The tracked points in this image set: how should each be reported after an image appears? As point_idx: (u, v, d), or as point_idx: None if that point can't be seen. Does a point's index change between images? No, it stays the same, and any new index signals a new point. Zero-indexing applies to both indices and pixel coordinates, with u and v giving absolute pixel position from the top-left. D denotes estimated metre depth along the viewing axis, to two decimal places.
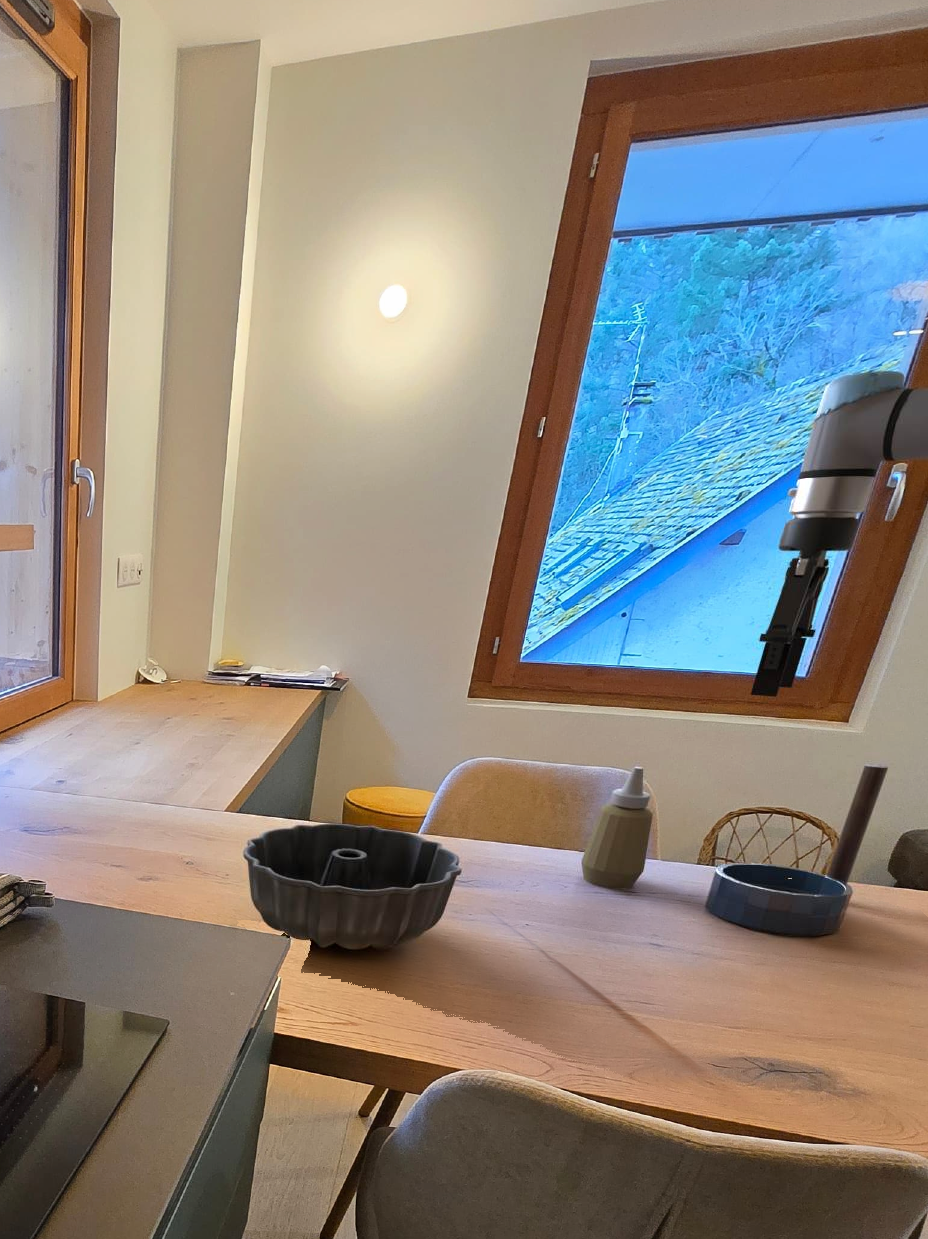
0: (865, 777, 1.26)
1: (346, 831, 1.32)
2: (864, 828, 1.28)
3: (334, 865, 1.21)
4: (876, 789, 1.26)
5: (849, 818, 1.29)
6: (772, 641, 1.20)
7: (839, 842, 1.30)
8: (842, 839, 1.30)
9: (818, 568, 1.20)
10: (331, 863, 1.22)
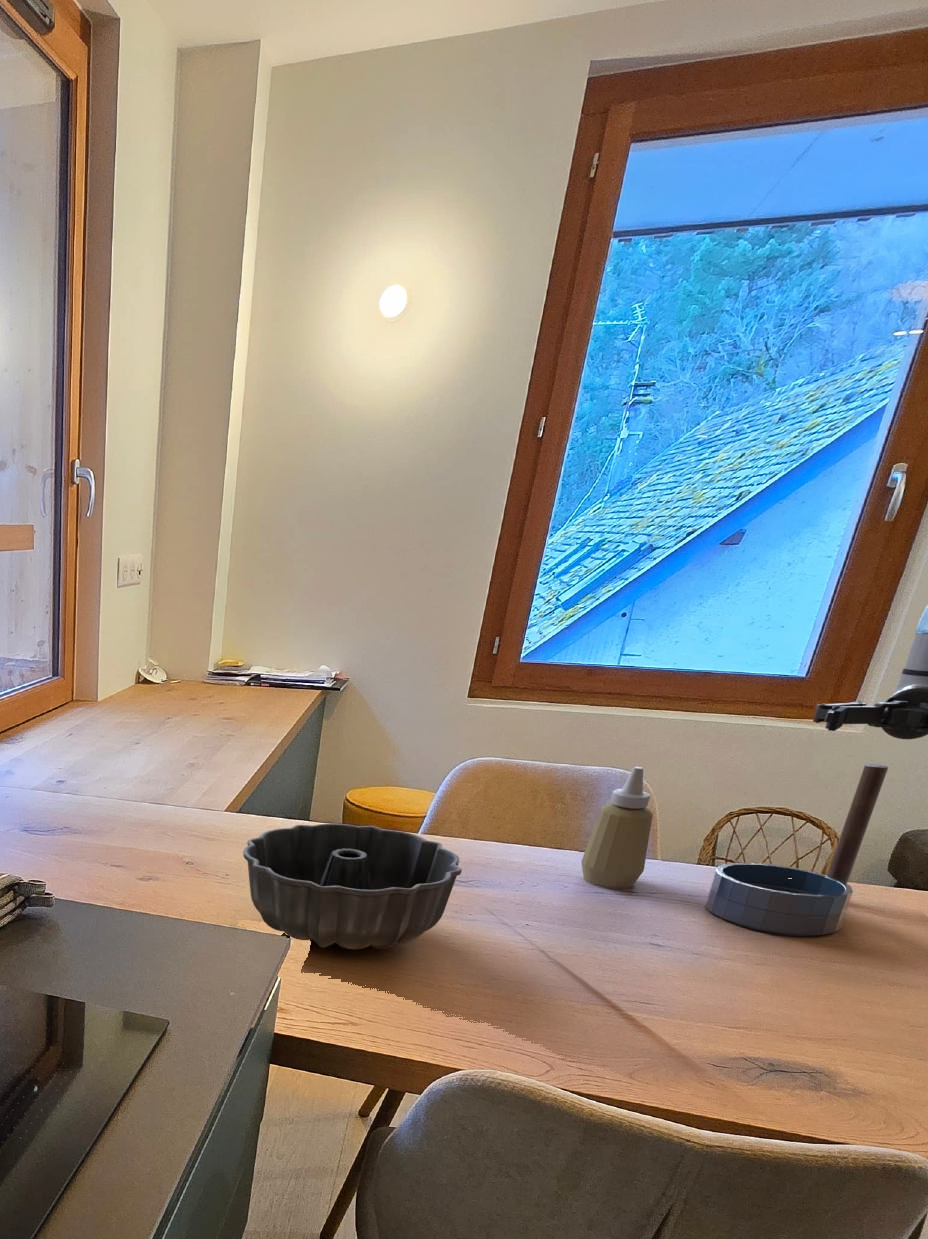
0: (865, 777, 1.26)
1: (346, 831, 1.32)
2: (864, 828, 1.28)
3: (334, 865, 1.21)
4: (876, 789, 1.26)
5: (849, 818, 1.29)
6: None
7: (839, 842, 1.30)
8: (842, 839, 1.30)
9: None
10: (331, 863, 1.22)
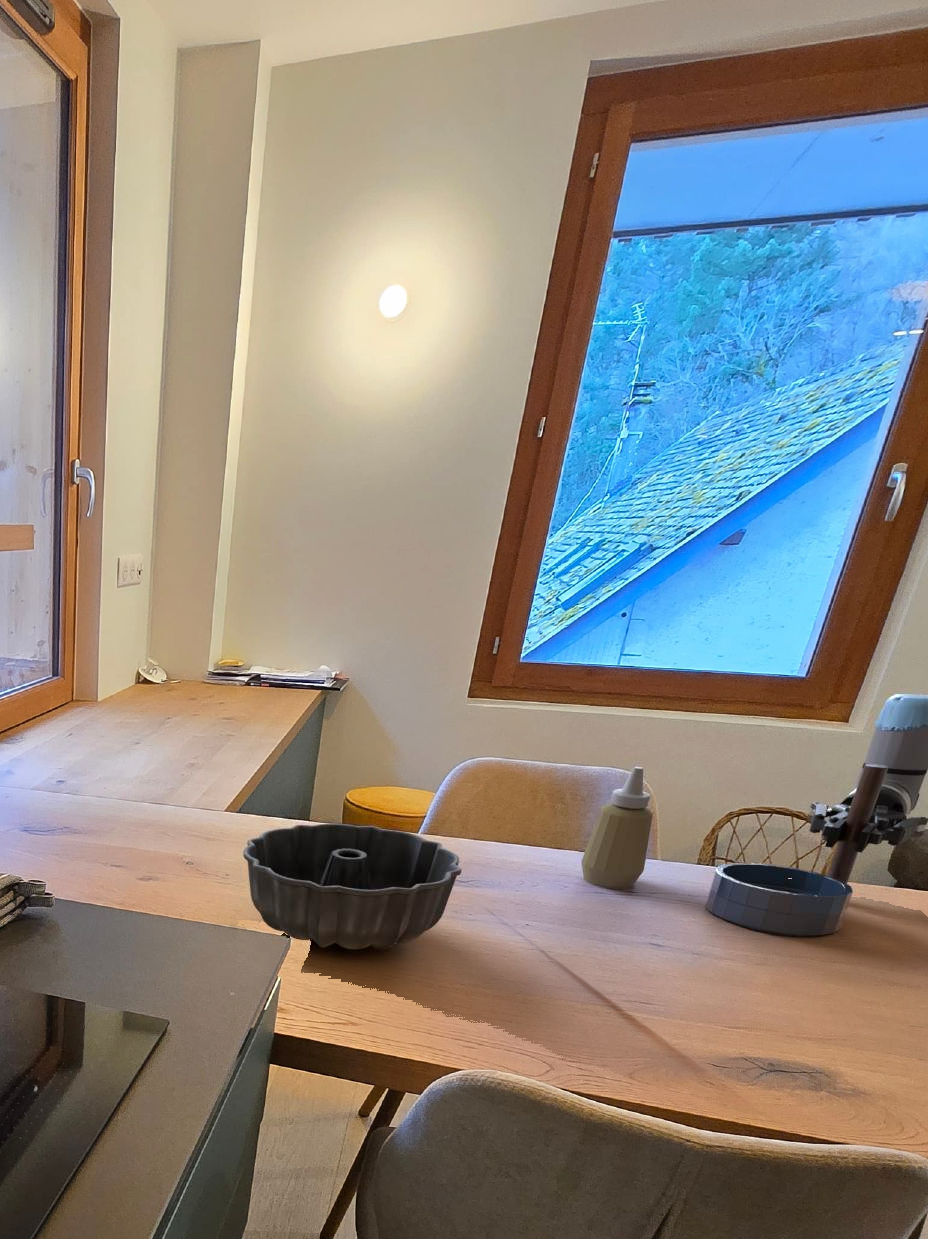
0: (865, 777, 1.26)
1: (346, 831, 1.32)
2: None
3: (334, 865, 1.21)
4: (876, 789, 1.26)
5: (849, 818, 1.29)
6: None
7: (839, 842, 1.30)
8: (842, 839, 1.30)
9: None
10: (331, 863, 1.22)
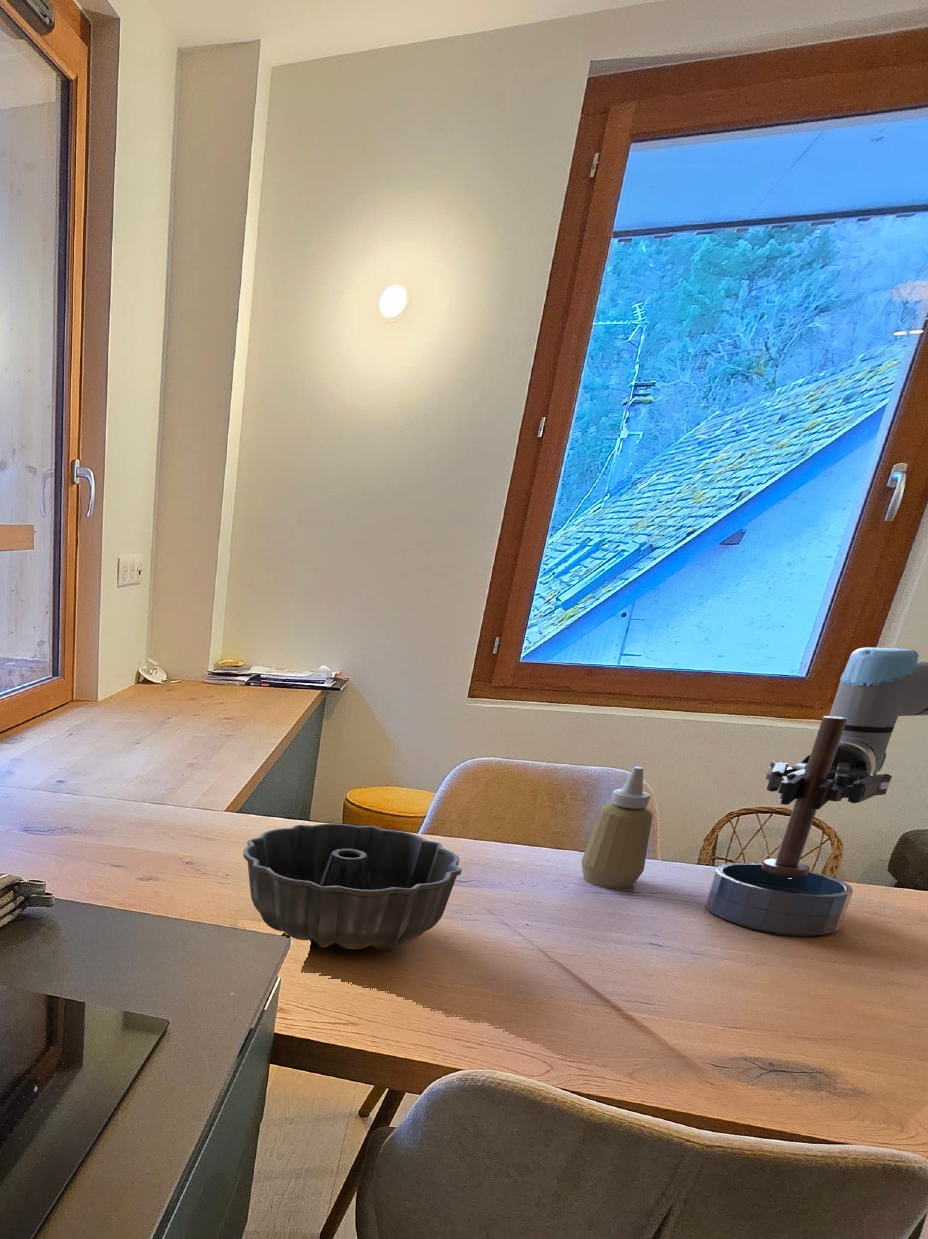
0: (823, 729, 1.19)
1: (346, 831, 1.32)
2: None
3: (334, 865, 1.21)
4: (835, 742, 1.18)
5: (807, 774, 1.21)
6: None
7: (796, 800, 1.23)
8: (800, 796, 1.22)
9: None
10: (331, 863, 1.22)
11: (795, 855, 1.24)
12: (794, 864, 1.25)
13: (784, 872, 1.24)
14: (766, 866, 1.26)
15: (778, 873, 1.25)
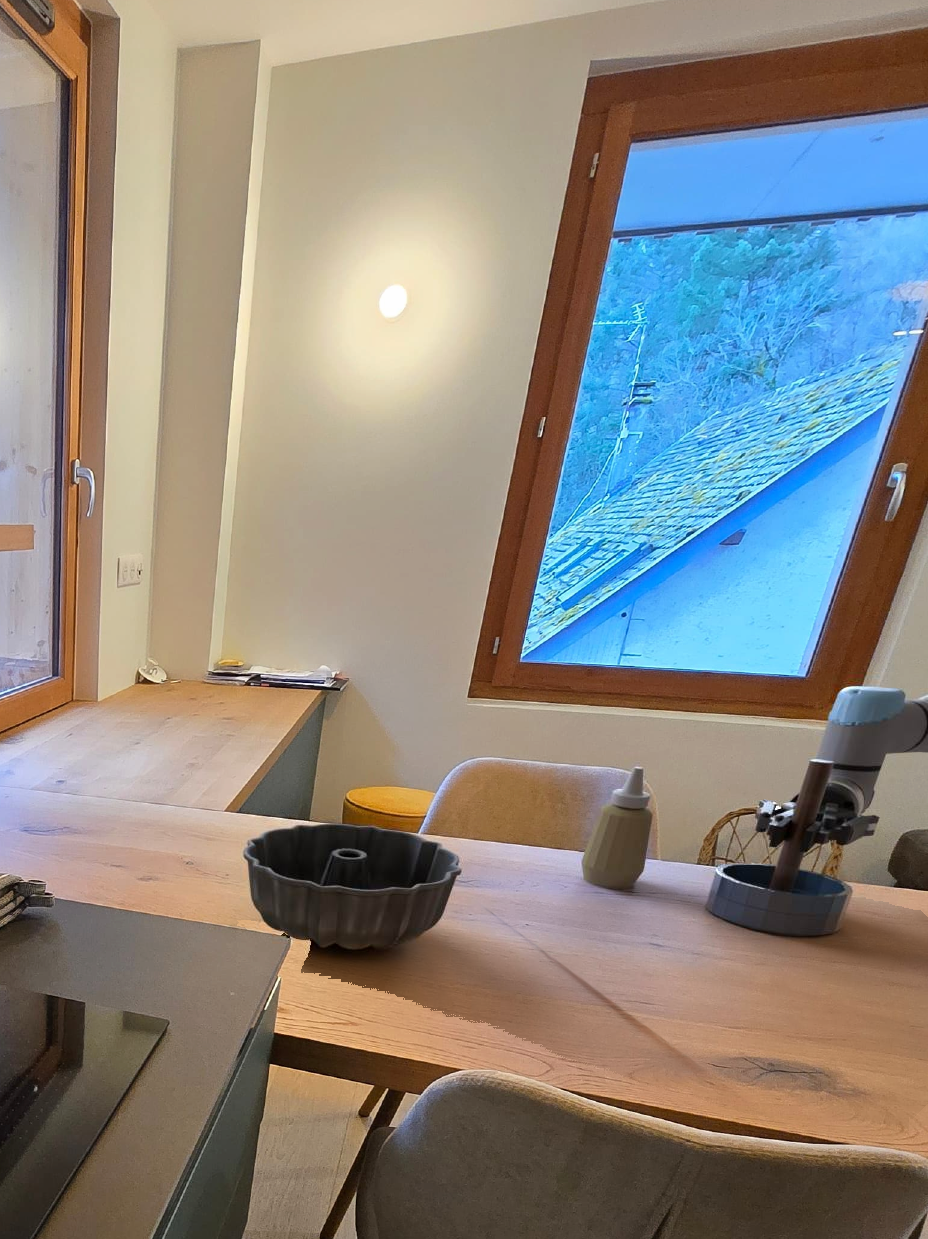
0: (810, 773, 1.19)
1: (346, 831, 1.32)
2: None
3: (334, 865, 1.21)
4: (822, 786, 1.19)
5: (795, 816, 1.22)
6: None
7: (785, 842, 1.23)
8: (788, 839, 1.23)
9: None
10: (331, 863, 1.22)
11: None
12: None
13: None
14: None
15: None
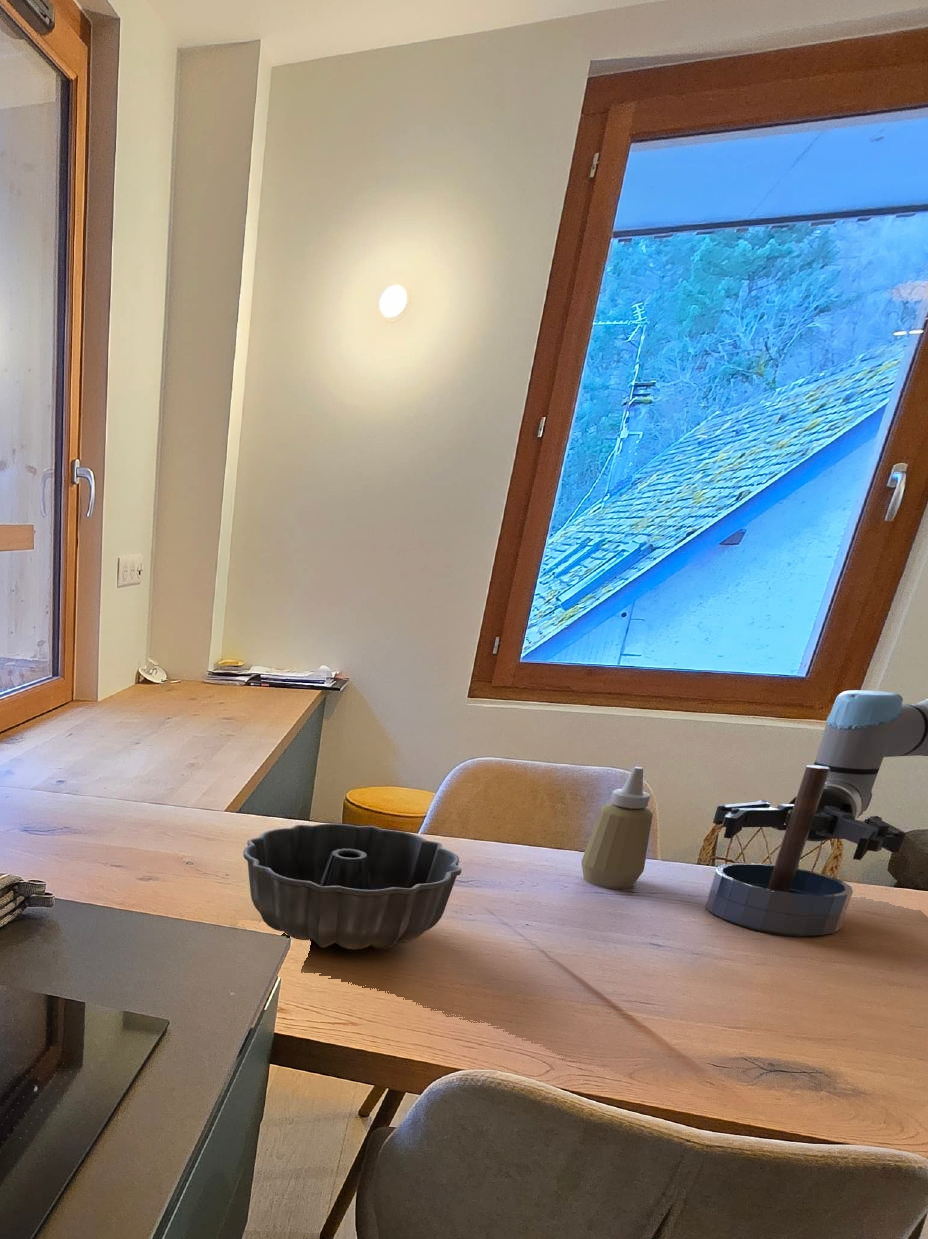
0: (806, 779, 1.21)
1: (346, 831, 1.32)
2: (806, 832, 1.23)
3: (334, 865, 1.21)
4: (818, 791, 1.21)
5: (791, 821, 1.24)
6: None
7: (781, 846, 1.25)
8: (784, 843, 1.25)
9: None
10: (331, 863, 1.22)
11: None
12: None
13: None
14: None
15: None
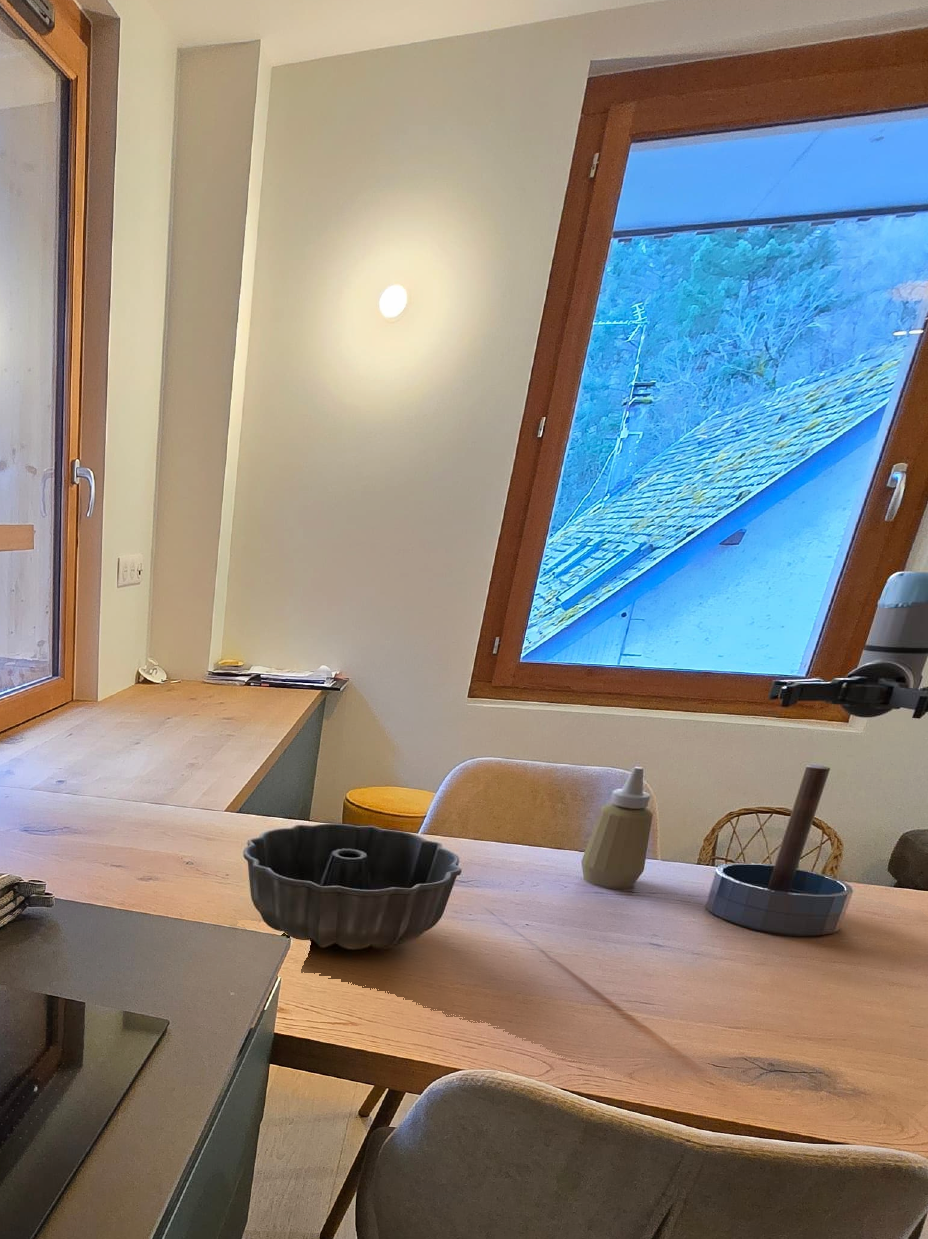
0: (806, 779, 1.21)
1: (346, 831, 1.32)
2: (806, 832, 1.23)
3: (334, 865, 1.21)
4: (818, 791, 1.21)
5: (791, 821, 1.24)
6: None
7: (781, 846, 1.25)
8: (784, 843, 1.25)
9: None
10: (331, 863, 1.22)
11: None
12: None
13: None
14: None
15: None
